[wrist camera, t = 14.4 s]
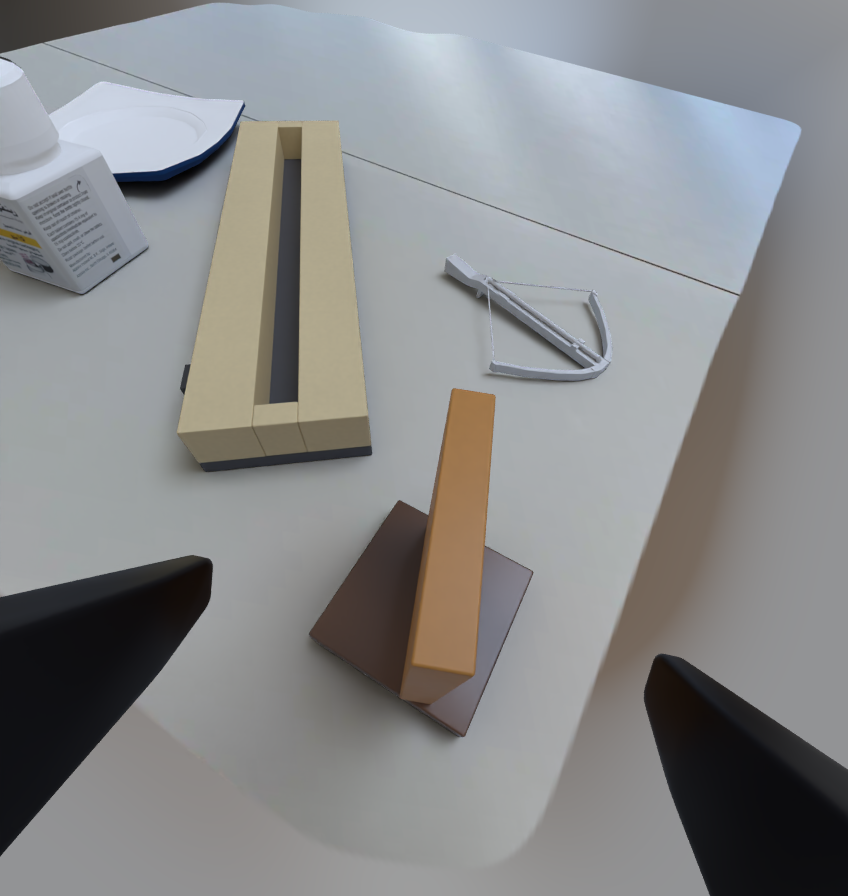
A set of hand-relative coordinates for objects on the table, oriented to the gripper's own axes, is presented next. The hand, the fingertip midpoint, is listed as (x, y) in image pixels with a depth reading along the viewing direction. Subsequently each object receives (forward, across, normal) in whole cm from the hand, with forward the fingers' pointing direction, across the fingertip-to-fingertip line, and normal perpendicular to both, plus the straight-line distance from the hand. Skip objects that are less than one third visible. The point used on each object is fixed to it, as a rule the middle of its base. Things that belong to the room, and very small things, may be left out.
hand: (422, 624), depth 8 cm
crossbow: (+29, -3, -9) cm, 31 cm away
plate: (+43, +41, -23) cm, 63 cm away
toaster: (+30, +16, -11) cm, 36 cm away
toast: (+11, 0, +6) cm, 13 cm away
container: (+28, +34, -8) cm, 45 cm away
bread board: (+12, 0, +7) cm, 14 cm away
